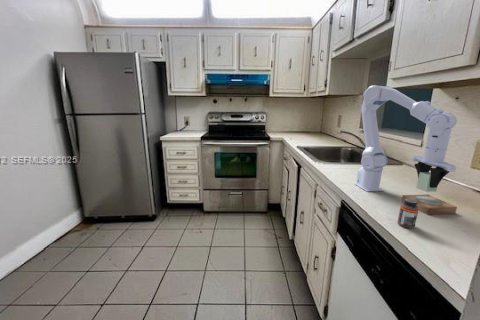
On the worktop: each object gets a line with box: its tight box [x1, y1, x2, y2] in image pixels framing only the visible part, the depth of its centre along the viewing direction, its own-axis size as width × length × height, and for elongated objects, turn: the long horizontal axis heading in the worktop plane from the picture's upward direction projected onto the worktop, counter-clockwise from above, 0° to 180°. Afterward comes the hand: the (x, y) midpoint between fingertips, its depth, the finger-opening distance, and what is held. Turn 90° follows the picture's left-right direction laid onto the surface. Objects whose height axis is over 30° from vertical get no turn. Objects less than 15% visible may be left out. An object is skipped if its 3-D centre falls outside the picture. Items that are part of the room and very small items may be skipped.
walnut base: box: [401, 194, 458, 216], centre depth 84 cm, size 11×11×3 cm
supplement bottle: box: [397, 199, 419, 229], centre depth 70 cm, size 4×4×8 cm
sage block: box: [416, 171, 438, 193], centre depth 82 cm, size 4×4×6 cm
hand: (427, 185), depth 82 cm, fingers closed on sage block, 4 cm apart
